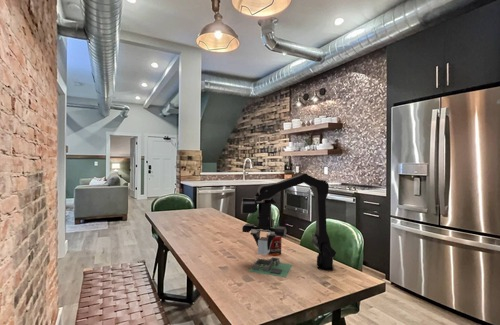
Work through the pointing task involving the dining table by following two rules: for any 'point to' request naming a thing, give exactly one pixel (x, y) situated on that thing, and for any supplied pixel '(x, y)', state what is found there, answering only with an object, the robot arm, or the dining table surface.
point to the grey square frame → (262, 261)
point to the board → (274, 268)
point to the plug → (263, 246)
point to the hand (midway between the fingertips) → (263, 249)
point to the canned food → (275, 246)
